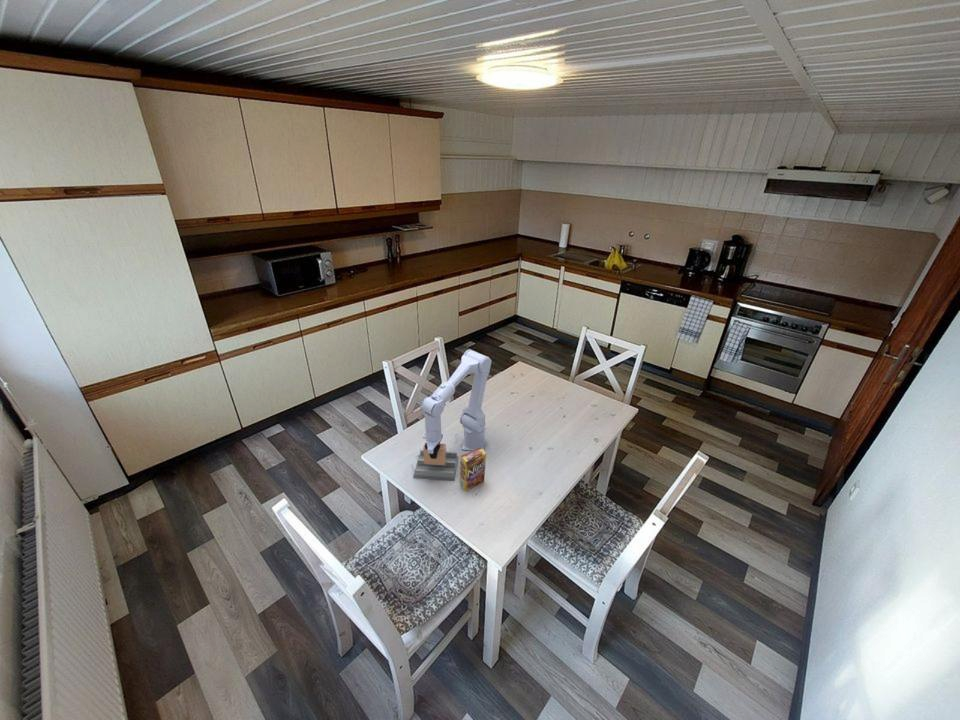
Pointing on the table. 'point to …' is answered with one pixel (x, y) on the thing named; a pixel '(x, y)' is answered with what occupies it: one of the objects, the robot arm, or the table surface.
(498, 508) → the table surface
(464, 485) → the candy box
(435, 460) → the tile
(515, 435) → the table surface
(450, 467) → the rack
